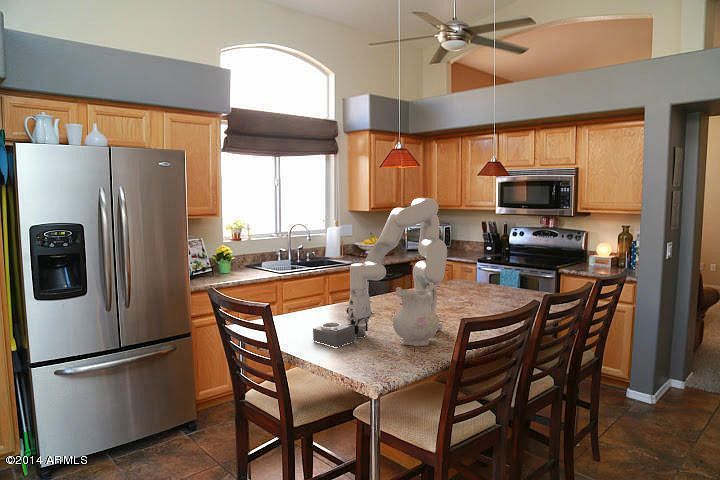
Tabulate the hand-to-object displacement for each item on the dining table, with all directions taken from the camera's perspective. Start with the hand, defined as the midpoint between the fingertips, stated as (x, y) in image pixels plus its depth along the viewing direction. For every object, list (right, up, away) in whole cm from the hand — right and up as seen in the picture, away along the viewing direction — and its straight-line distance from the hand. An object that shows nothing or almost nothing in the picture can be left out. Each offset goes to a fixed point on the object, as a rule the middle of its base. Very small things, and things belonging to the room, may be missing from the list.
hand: (359, 331), depth 217 cm
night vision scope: (-1, +2, +37) cm, 37 cm away
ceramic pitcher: (+24, -3, -9) cm, 26 cm away
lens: (0, -2, 0) cm, 2 cm away
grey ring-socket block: (-11, -3, -7) cm, 13 cm away
